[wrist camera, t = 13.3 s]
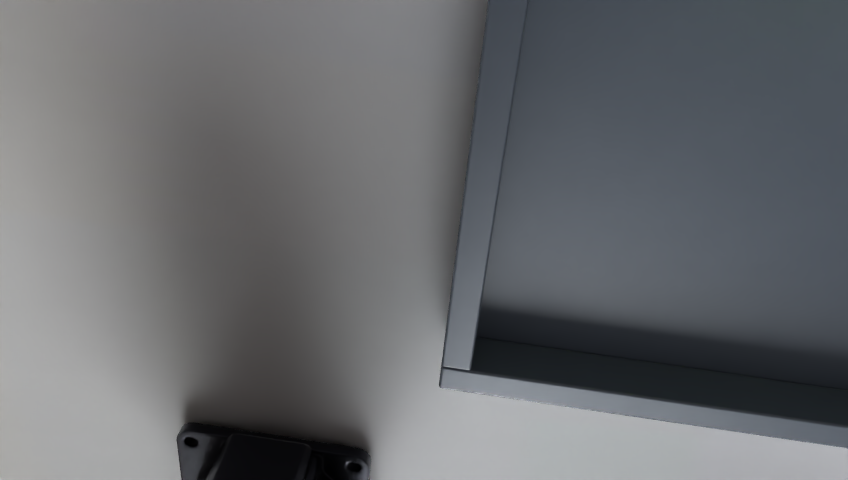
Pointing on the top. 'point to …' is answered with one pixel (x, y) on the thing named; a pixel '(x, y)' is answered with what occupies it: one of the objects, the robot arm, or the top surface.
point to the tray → (659, 214)
